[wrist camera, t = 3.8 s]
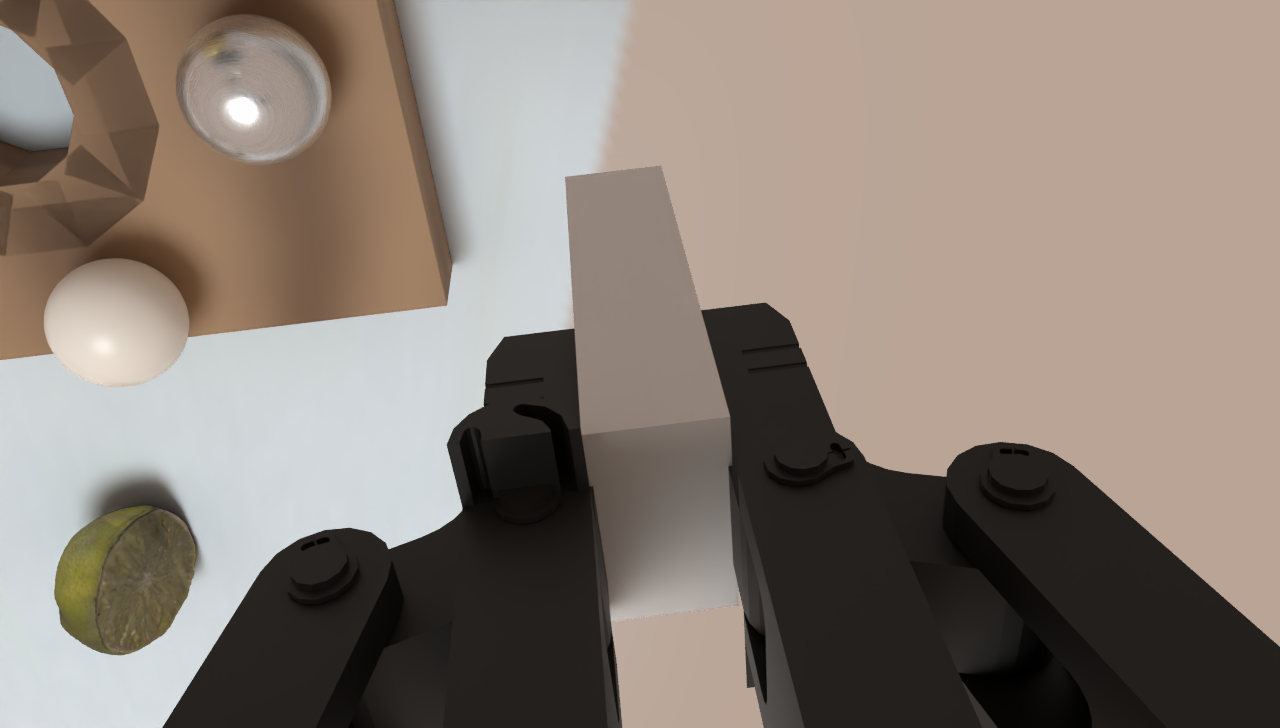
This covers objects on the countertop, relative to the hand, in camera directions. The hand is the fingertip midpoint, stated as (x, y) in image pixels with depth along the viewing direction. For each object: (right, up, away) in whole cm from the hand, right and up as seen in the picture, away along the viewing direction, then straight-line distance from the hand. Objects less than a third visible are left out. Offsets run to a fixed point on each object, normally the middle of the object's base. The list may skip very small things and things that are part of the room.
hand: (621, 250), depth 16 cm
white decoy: (-14, -1, +11) cm, 18 cm away
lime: (-18, -8, +21) cm, 29 cm away
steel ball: (-9, +5, +8) cm, 13 cm away
